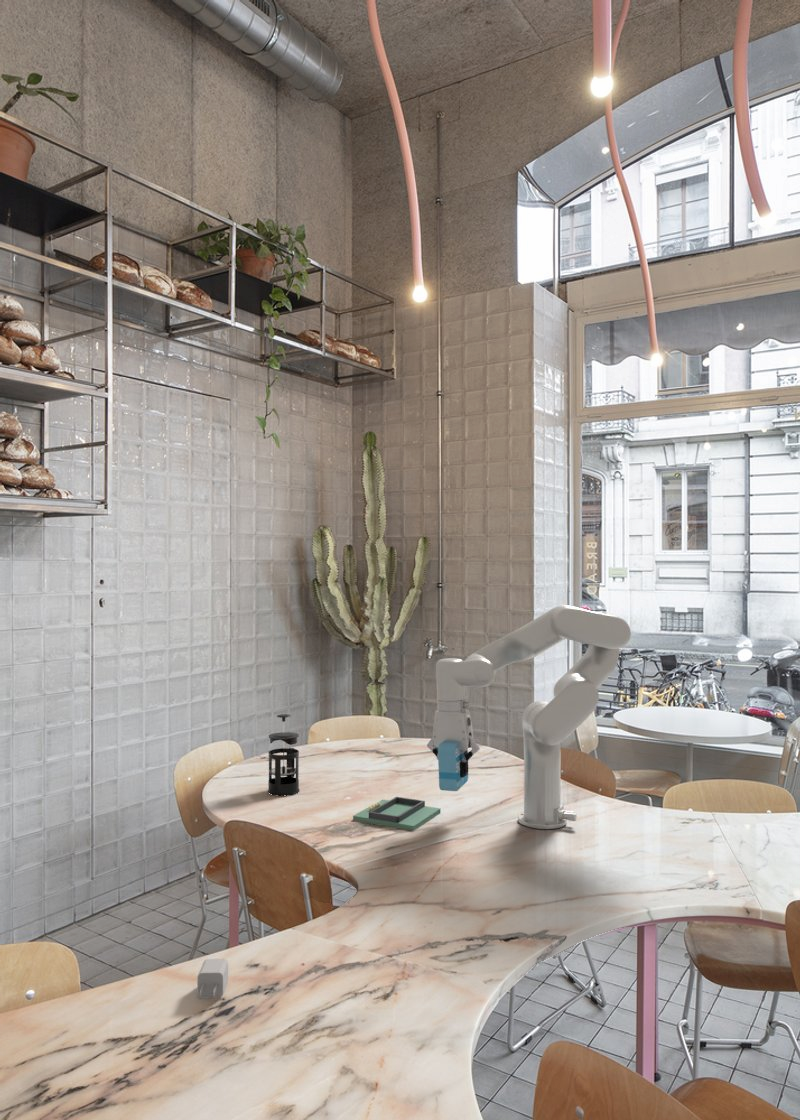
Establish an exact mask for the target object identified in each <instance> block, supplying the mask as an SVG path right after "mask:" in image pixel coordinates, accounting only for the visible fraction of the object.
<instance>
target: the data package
mask: <svg viewBox="0 0 800 1120" xmlns="http://www.w3.org/2000/svg"><path fill="white" fill-rule="evenodd" d="M468 749H469V748H468ZM468 749H467V750H468ZM437 761H438V787H439V790H440V791H448V792H458V791H459V790H460V789H461V788H462V787H463V786H464V785H465V784H466V783H467V782H468V780H469V772H468V773H467V775H466V776H465V777H463V778H462V777H460V762H461V756H460V751H459V745H458V743H454V742H442V743H440V744H439V747H438V759H437Z"/></svg>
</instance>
